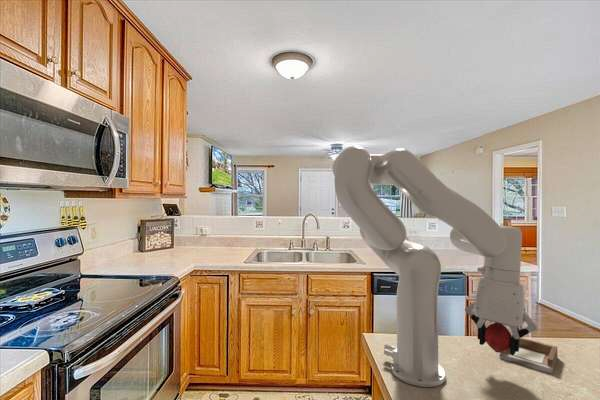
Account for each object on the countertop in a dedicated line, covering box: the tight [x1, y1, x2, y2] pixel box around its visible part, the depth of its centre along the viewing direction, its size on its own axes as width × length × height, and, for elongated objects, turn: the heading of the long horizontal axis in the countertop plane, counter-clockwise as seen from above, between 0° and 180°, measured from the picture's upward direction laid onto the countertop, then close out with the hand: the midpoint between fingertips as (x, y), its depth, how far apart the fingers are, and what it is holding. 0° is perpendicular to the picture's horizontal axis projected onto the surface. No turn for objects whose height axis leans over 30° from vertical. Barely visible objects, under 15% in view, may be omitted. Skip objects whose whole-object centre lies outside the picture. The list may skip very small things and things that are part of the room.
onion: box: [484, 322, 512, 354], centre depth 75 cm, size 6×6×8 cm
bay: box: [498, 334, 559, 375], centre depth 82 cm, size 11×11×3 cm
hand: (497, 347), depth 75 cm, fingers closed on onion, 5 cm apart
